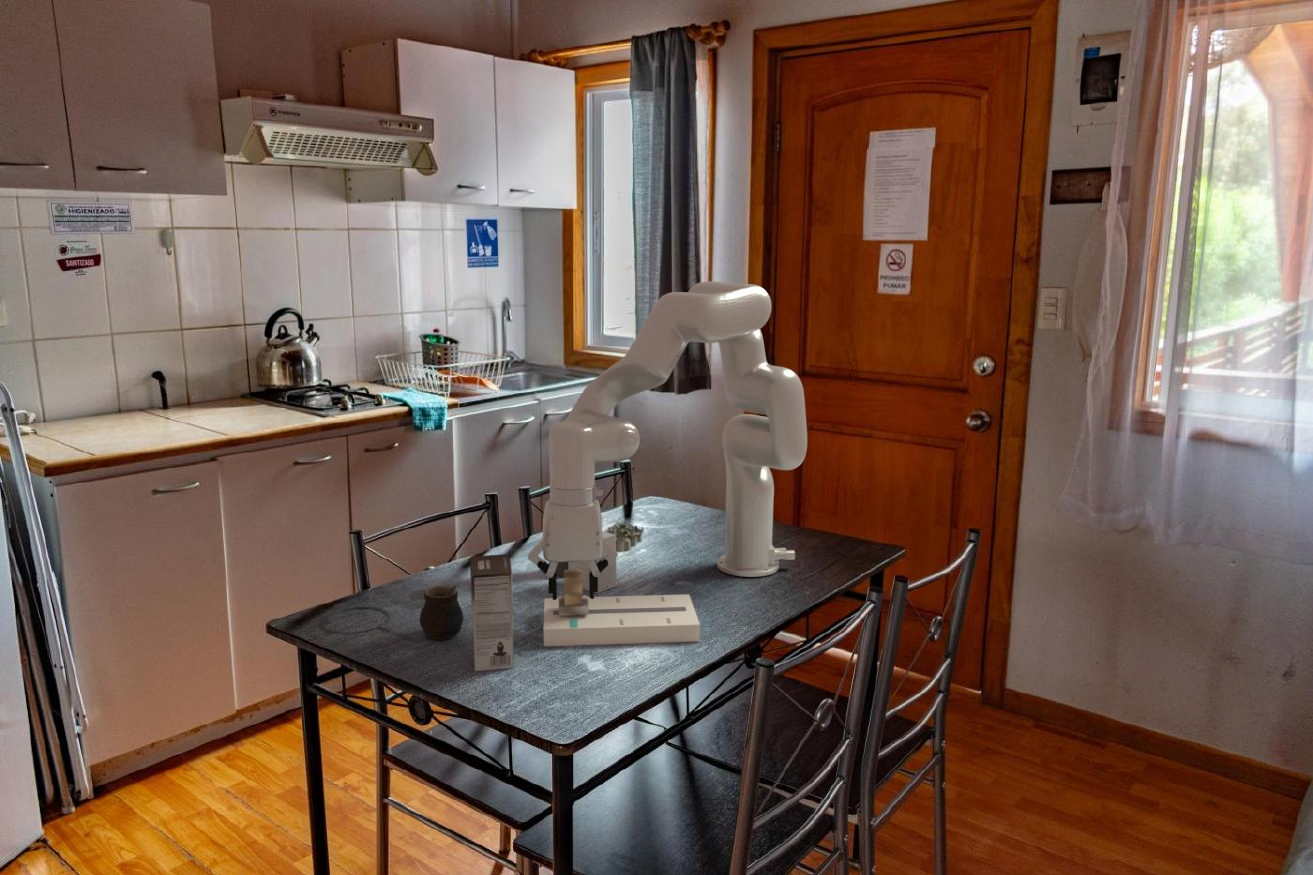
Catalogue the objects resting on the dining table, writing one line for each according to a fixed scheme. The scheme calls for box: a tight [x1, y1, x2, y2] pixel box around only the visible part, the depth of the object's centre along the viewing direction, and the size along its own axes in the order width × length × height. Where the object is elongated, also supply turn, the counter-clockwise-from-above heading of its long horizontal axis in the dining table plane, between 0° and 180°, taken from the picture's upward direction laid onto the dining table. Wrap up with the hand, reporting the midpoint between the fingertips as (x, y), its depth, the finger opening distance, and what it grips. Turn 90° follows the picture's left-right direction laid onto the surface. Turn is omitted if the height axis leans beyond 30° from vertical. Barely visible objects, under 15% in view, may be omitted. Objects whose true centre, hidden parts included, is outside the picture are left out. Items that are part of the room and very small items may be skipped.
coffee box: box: [469, 553, 515, 672], centre depth 158 cm, size 9×6×16 cm
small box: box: [568, 530, 618, 594], centre depth 192 cm, size 8×6×10 cm
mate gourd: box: [419, 584, 464, 641], centre depth 168 cm, size 7×8×10 cm
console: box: [543, 593, 701, 647], centre depth 172 cm, size 26×14×3 cm, turn 96°
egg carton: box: [603, 521, 645, 553], centre depth 218 cm, size 11×8×4 cm
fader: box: [558, 570, 589, 616], centre depth 171 cm, size 5×5×6 cm
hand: (573, 595), depth 171 cm, fingers open, 5 cm apart
